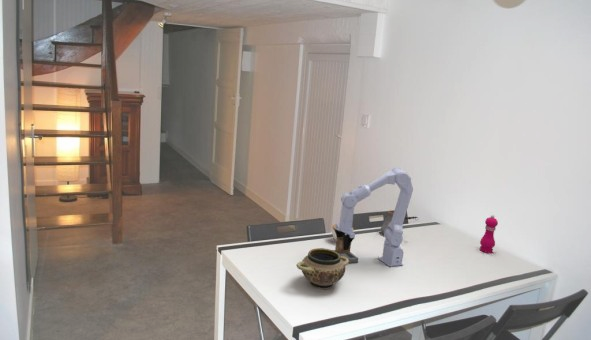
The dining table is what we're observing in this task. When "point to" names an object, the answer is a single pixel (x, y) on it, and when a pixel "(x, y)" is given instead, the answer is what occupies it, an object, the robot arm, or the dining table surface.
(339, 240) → the walnut block
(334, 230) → the lidded jar
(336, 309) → the dining table surface
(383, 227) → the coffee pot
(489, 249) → the pepper mill
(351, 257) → the tray
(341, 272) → the ceramic bowl
